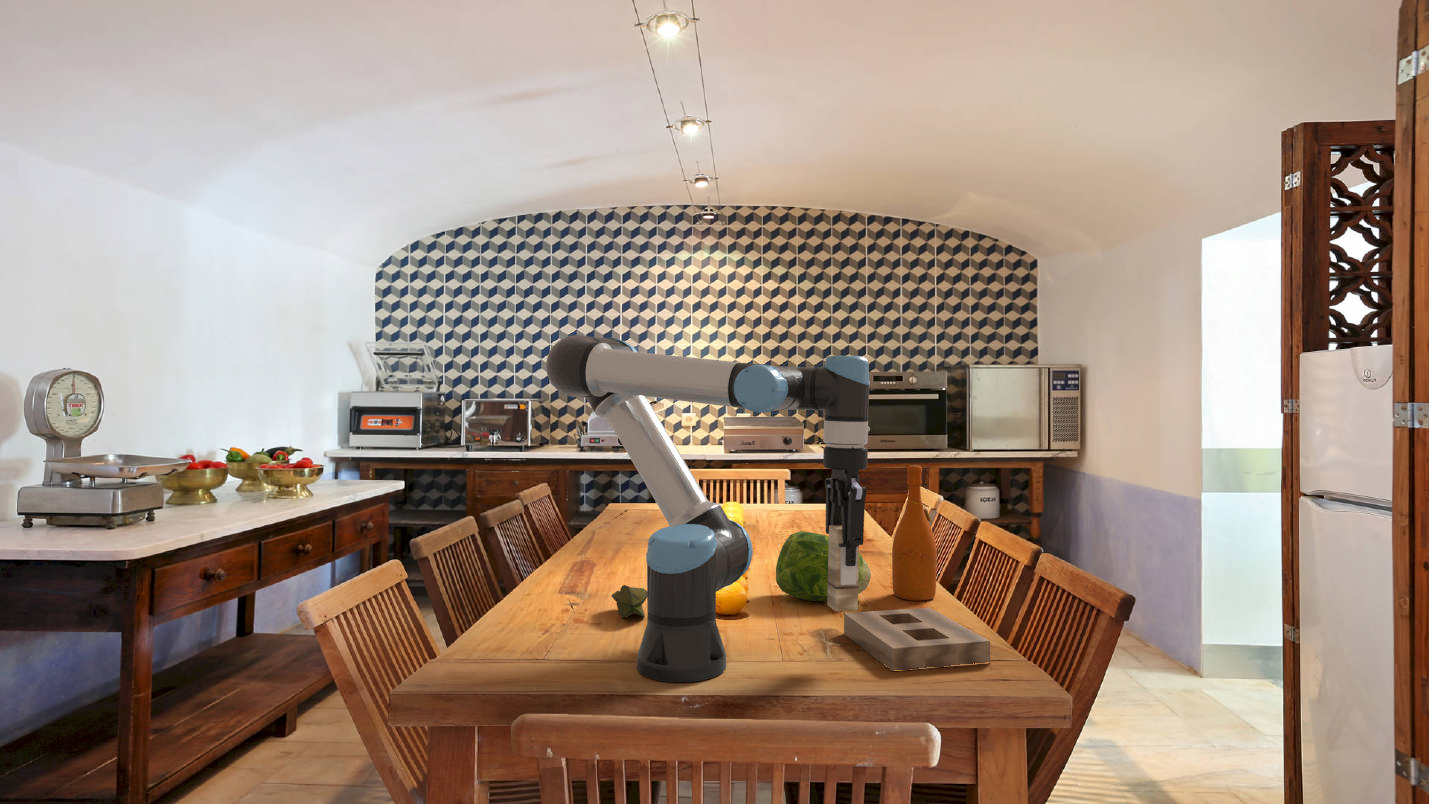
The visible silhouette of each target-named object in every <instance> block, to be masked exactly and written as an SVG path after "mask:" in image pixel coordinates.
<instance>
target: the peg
mask: <svg viewBox="0 0 1429 804" xmlns="http://www.w3.org/2000/svg"><path fill="white" fill-rule="evenodd" d="M828 536H829V550H828V581H827V583H828V598H827V602H826V605H827V606H828V607H829V608H830V609H832V610H833V611H834V612H851V611H852V612H853V611H856V612H857V611H858V610H859V609H858V608H859V594H858V588H859V586H858V573H859V553H860V545H859V546H858V547H857V573H856V584H855V585H840V547H839V544H842V543H843V535H842V525H829V534H828Z"/></svg>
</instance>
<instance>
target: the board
mask: <svg viewBox="0 0 1429 804" xmlns="http://www.w3.org/2000/svg"><path fill="white" fill-rule="evenodd" d="M843 634H844V635H845V636H846V637H848V638H849V639H850V640H851V641H853V642H854V643H855V645H858V647H860V648H861V649H862V650H864V651H865V650H866V651H865V652H867V653H868V654H869V653H870V654H871V655H870V654H869V655H870V656H872V657H873V658H874V659H875V658H876V659H875V660H877V661H878V662H879V661H881V662H882V663H883V664H885V665H886V666H887V667H889V668H890V669H891V670H893V671H894V670H910V669H919V668H927V667H944V666H951V665H960V664H973V663H974V664H975V663H985V662H990V663H991V641H990V640H989V639H987V638H985V637H984V636H982V635H980V634H979V633H977V632H975V631H973V630H971V629H969V628H967V627H965V626H964V625H963V624H960V623H958V622H956V621H955V620H953V619H951V618H949V617H948V616H946V615H944V614H942V613H940V612H939V611H936V610H935V609H933V608H931V607H916V608H904V609H903V608H900V609H888V610H887V609H886V610H885V609H883V610H871V611H856V612H853V611H852V612H844V613H843ZM881 662H880V663H881ZM882 663H881V664H882ZM883 664H882V665H883ZM886 666H885V667H886ZM887 667H886V668H887ZM891 670H890V671H891Z"/></svg>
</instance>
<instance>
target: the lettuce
mask: <svg viewBox="0 0 1429 804" xmlns="http://www.w3.org/2000/svg"><path fill="white" fill-rule="evenodd" d="M828 550H829V535H827V534H826V535H825V534H821V533H816V532H810V531H806V530H805V531H803V530H800V531H797V532H794V533H791V534H790V535H789V536H788V538H786V540H785V541H784V543H783V545H782V547H781V549H780V551H779V554H778V558H777V561H776V566H775V582H776V584H777V585H778V587H779V588H780V591H782V593H785V594H787V595H789V596H791V597H794V598H797V599H799V600H803V601H810V602H826V603H827V598H828V583H827V581H828ZM871 576H872V572H871V568H870V566H869V564H868V563H867V561H866V559H864V557H863V556H862V555H861V553H860V552H859V573H858V586H859V588H858V595H859V594H861V593H863V592H864V591H865V590H866V589H867V588H868V587H869V585H870V581H871V578H872V577H871Z"/></svg>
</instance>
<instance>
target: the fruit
mask: <svg viewBox="0 0 1429 804" xmlns="http://www.w3.org/2000/svg"><path fill="white" fill-rule="evenodd" d="M611 598H613V600H614V602H616V607H617V612H618V614H619V616H620V618H621V619H624V618H627V617H630V616H631V615H633V614H636V615H639V616H642V617H644V618H646V615H645V612H644V609H643V604H644V603H645V602H646V601H647V589H645V588H644V587H635V586H632V587H631V586H628V585H626V584H623V585H622V586H621V587H620V590H616V591H615V592H613V593H612V594H611Z"/></svg>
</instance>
